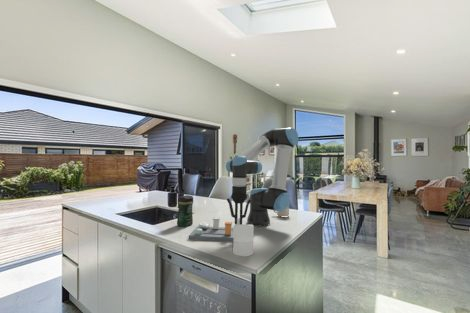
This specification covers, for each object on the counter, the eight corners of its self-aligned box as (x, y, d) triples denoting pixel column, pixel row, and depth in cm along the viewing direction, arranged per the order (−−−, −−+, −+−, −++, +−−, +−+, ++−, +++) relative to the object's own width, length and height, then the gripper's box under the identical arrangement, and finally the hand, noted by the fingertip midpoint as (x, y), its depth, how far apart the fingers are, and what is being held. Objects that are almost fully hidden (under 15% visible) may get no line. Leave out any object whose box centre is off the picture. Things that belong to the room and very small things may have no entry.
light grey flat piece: (209, 225, 140) (210, 223, 140) (207, 228, 133) (207, 226, 133) (201, 223, 140) (201, 221, 140) (198, 226, 133) (198, 224, 133)
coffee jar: (184, 227, 143) (185, 197, 144) (174, 225, 147) (175, 195, 148) (194, 224, 152) (195, 195, 152) (185, 222, 156) (186, 194, 156)
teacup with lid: (289, 215, 182) (289, 200, 182) (288, 218, 173) (289, 202, 174) (273, 214, 185) (273, 199, 186) (272, 217, 177) (272, 201, 177)
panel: (237, 231, 138) (238, 223, 138) (234, 241, 120) (235, 233, 120) (197, 229, 141) (197, 222, 141) (188, 239, 123) (188, 230, 123)
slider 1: (219, 227, 137) (219, 217, 137) (218, 229, 133) (218, 218, 133) (213, 227, 137) (214, 217, 137) (212, 229, 134) (212, 218, 134)
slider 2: (231, 233, 127) (232, 222, 127) (231, 234, 123) (231, 223, 124) (225, 232, 127) (225, 221, 127) (224, 234, 124) (224, 223, 124)
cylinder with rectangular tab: (234, 256, 102) (235, 228, 102) (231, 248, 111) (232, 223, 111) (255, 255, 103) (255, 227, 104) (250, 248, 112) (251, 222, 112)
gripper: (251, 185, 128) (250, 229, 128) (227, 184, 130) (226, 228, 129) (251, 186, 121) (250, 233, 120) (226, 185, 122) (225, 232, 122)
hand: (238, 230), depth 125 cm, fingers closed
